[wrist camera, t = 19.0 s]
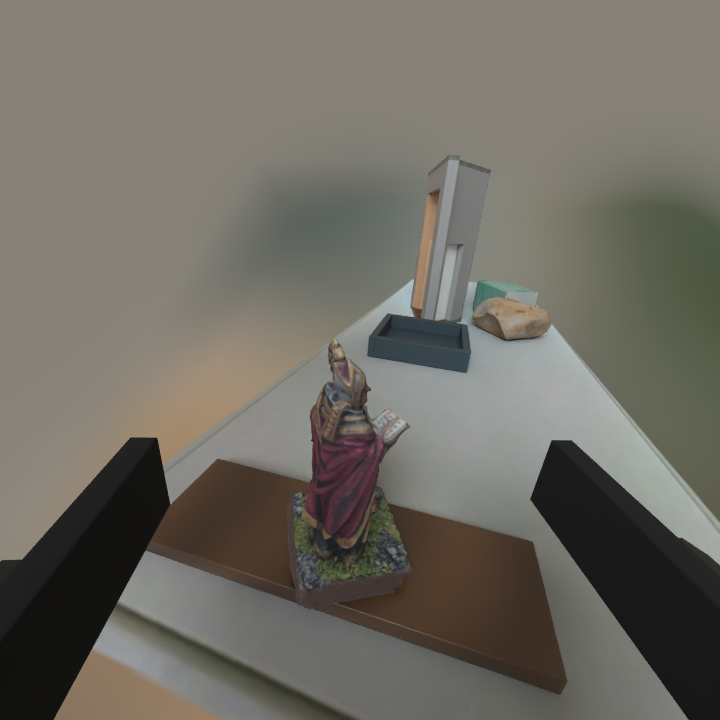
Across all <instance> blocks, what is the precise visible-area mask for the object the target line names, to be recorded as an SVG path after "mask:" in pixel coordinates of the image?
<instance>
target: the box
mask: <svg viewBox="0 0 720 720" xmlns="http://www.w3.org/2000/svg"><path fill="white" fill-rule="evenodd" d="M538 296H539V293H538V292H535V291H532V290H529V289H526V288H523V287H520V286H518V285H515V284H511V283H508V282H501V281H485V280H482V281H479V282H478V284H477V288H476V293H475V298H474V304H473V311H475V309H476V308H477V307H478V306H479V305H480V304H481V303H482V302H484V301H485V300H487V299H490V298H494V297H503V298H509V299H513V300H516V301H519V302H522V303H524V304H528V305H532V306H536V303H537V299H538Z"/></svg>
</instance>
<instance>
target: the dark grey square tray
mask: <svg viewBox="0 0 720 720" xmlns="http://www.w3.org/2000/svg"><path fill="white" fill-rule="evenodd" d="M470 354H471V351H470V342H469V334H468V326H467V325H464V324H457V323H450V322H443V321H436V320H429V319H422V318H415V317H408V316H401V315H394V314H387V315H386V316H385V317H384V319H383V320H382V321H381V322H380V324H379V325H378V326H377V327H376V329H375V330H374V331H373V333H372V334H371V335H370V336H369V344H368V355H367V356H371V357H377V358H383V359H389V360H395V361H400V362H406V363H412V364H418V365H424V366H430V367H435V368H441V369H447V370H453V371H459V372H465V373H466V372H467V367H468V363H469V359H470Z"/></svg>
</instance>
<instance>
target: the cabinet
mask: <svg viewBox="0 0 720 720" xmlns="http://www.w3.org/2000/svg"><path fill="white" fill-rule="evenodd" d="M490 171H491V170H489V169H486V168H483V167H480V166H477V165H474V164H471V163H468V162H465V161H462V160H460V156H459V155H449V156H447V157H446V158H445V159H444V160H443V161H442V162H441V163H439V164H438V165H437V166H436V167H435V168H434V169H433V170H431V171H430V172H429V174H428V181H427V189H426V196H425V204H424V211H423V219H422V226H421V233H420V240H419V247H418V255H417V262H416V269H415V277H414V284H413V291H412V299H411V309H412V311H413V314H414V316H415V318H422V319H429V320H436V321H443V322H450V323H456V322H459V321H461V317H462V312H463V307H464V302H465V297H466V292H467V287H468V282H469V277H470V272H471V266H472V262H473V256H474V252H475V246H476V242H477V237H478V232H479V227H480V222H481V217H482V211H483V206H484V202H485V196H486V191H487V187H488V181H489V176H490Z"/></svg>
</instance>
